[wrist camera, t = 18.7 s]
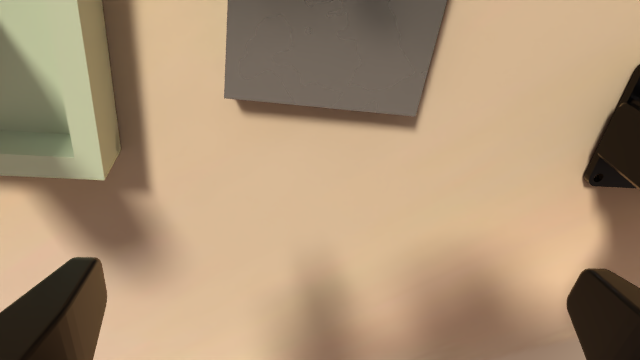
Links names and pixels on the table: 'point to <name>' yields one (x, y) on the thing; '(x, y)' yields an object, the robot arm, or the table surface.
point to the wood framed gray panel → (332, 52)
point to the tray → (56, 90)
